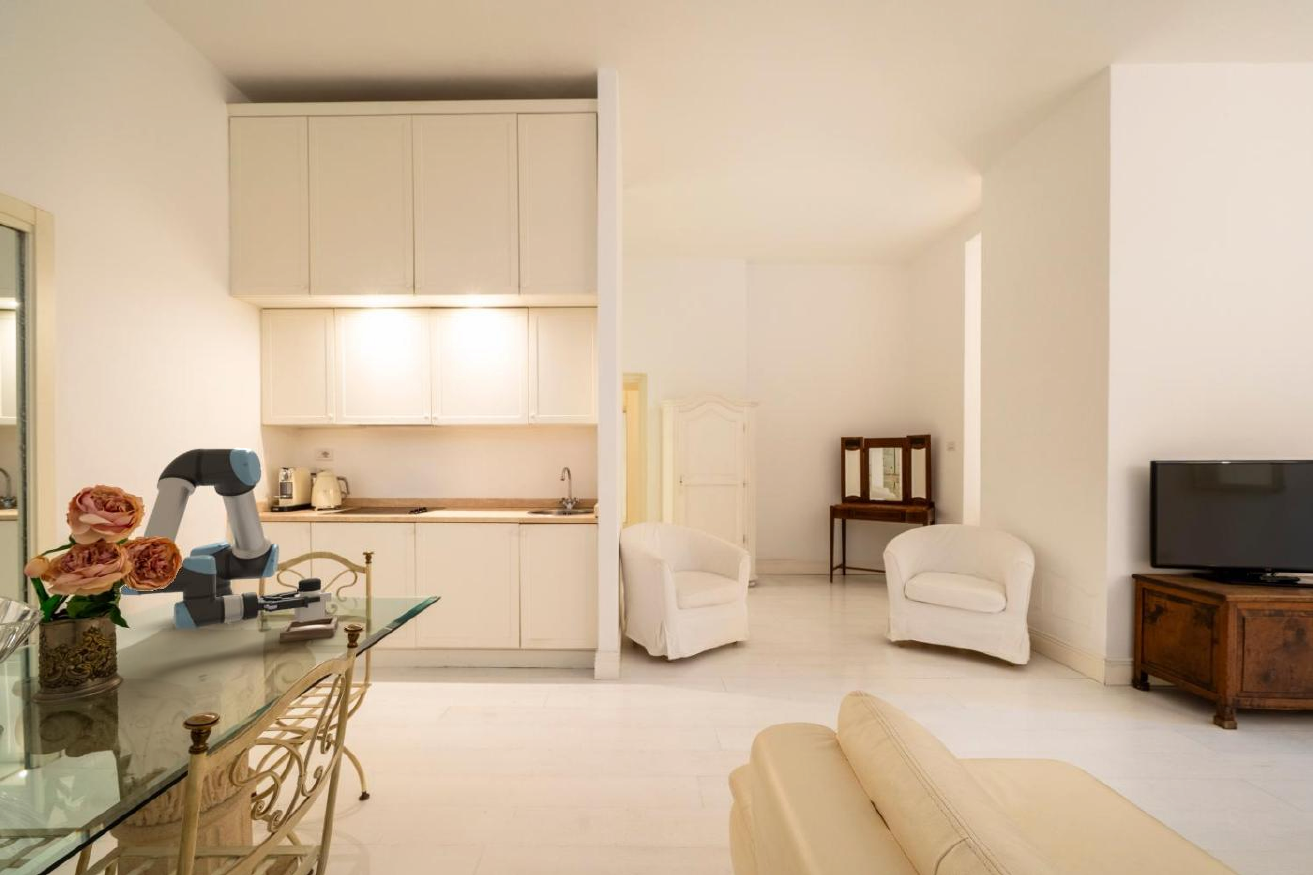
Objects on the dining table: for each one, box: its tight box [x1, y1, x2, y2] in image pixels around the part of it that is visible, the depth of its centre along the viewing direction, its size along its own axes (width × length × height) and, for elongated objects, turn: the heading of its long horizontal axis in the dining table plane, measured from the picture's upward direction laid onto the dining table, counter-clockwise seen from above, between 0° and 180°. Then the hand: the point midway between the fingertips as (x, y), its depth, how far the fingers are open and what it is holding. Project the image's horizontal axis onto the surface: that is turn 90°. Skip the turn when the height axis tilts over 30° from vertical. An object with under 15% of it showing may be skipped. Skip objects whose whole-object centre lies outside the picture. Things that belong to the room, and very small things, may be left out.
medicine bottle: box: [294, 577, 326, 623], centre depth 200 cm, size 7×7×12 cm
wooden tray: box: [279, 616, 339, 643], centre depth 200 cm, size 14×14×2 cm
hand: (327, 594), depth 203 cm, fingers closed on medicine bottle, 7 cm apart
